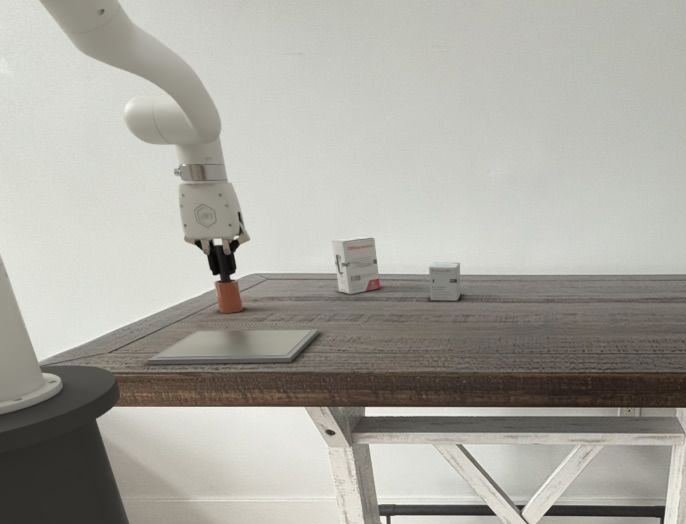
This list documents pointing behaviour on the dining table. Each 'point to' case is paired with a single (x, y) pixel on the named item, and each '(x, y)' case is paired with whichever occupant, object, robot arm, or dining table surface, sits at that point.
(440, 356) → the dining table surface
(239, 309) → the pen cup
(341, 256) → the ink box
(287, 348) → the tablet
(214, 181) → the robot arm
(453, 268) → the product carton
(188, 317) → the dining table surface
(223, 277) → the stylus
